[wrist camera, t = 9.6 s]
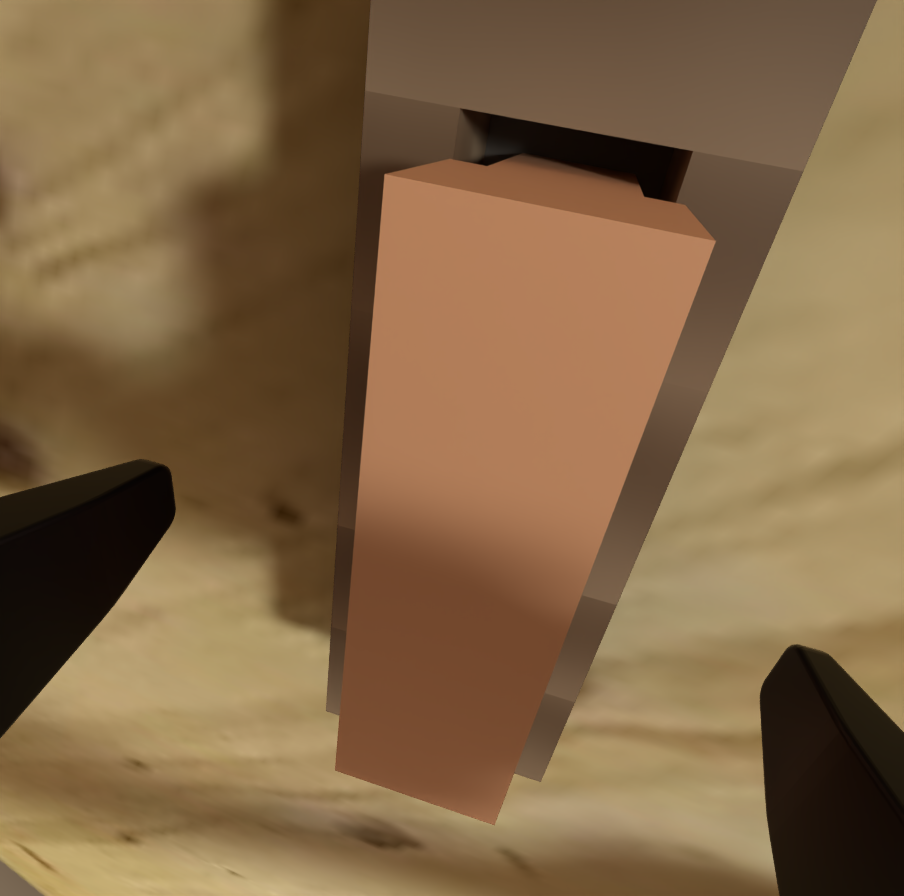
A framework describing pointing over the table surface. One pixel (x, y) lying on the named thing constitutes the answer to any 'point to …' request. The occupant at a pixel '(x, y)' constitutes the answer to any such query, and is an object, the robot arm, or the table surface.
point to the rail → (611, 147)
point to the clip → (495, 451)
